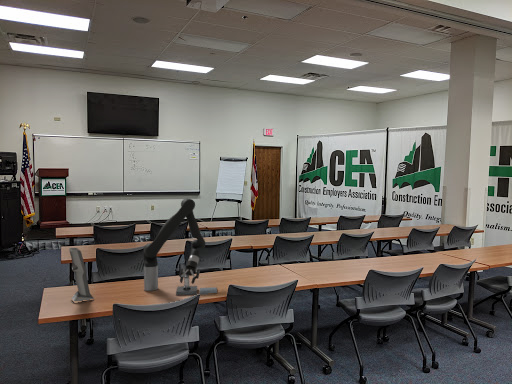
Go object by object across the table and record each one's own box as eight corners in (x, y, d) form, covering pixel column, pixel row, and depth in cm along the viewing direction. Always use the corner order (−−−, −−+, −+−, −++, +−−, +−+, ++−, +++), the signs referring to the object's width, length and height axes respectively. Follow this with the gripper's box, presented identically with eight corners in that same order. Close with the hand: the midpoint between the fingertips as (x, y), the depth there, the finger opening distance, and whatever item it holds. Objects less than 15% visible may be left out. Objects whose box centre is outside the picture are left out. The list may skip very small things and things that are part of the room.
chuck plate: (176, 295, 260) (176, 291, 260) (177, 289, 272) (177, 286, 272) (196, 294, 262) (196, 291, 262) (197, 289, 274) (197, 285, 274)
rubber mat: (199, 294, 262) (199, 293, 262) (200, 289, 274) (200, 287, 274) (216, 293, 264) (216, 292, 264) (216, 288, 276) (216, 287, 276)
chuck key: (184, 293, 265) (183, 276, 264) (184, 291, 269) (184, 274, 268) (189, 292, 266) (189, 276, 265) (189, 291, 269) (189, 274, 268)
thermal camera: (70, 299, 253) (68, 247, 251) (90, 295, 260) (89, 245, 258) (73, 304, 243) (71, 250, 241) (94, 300, 251) (92, 248, 249)
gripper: (182, 259, 276) (175, 279, 265) (200, 260, 272) (194, 280, 262) (185, 265, 281) (178, 284, 271) (203, 266, 278) (197, 286, 267)
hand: (186, 282), depth 266 cm, fingers open, 8 cm apart
